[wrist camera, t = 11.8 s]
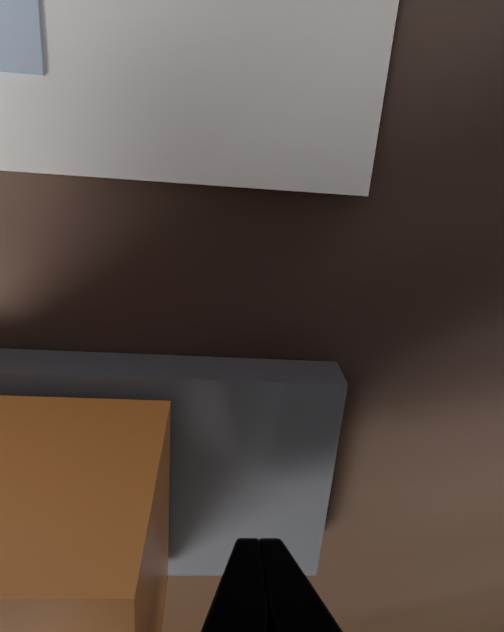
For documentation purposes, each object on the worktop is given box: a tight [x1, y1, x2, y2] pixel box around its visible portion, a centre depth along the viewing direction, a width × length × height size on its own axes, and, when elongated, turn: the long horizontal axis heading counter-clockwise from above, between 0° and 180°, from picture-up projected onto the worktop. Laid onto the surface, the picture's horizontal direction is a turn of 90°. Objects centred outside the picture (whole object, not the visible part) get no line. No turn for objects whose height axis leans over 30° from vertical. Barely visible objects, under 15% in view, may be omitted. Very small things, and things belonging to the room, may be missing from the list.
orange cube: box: [0, 395, 171, 632], centre depth 8 cm, size 4×4×4 cm
